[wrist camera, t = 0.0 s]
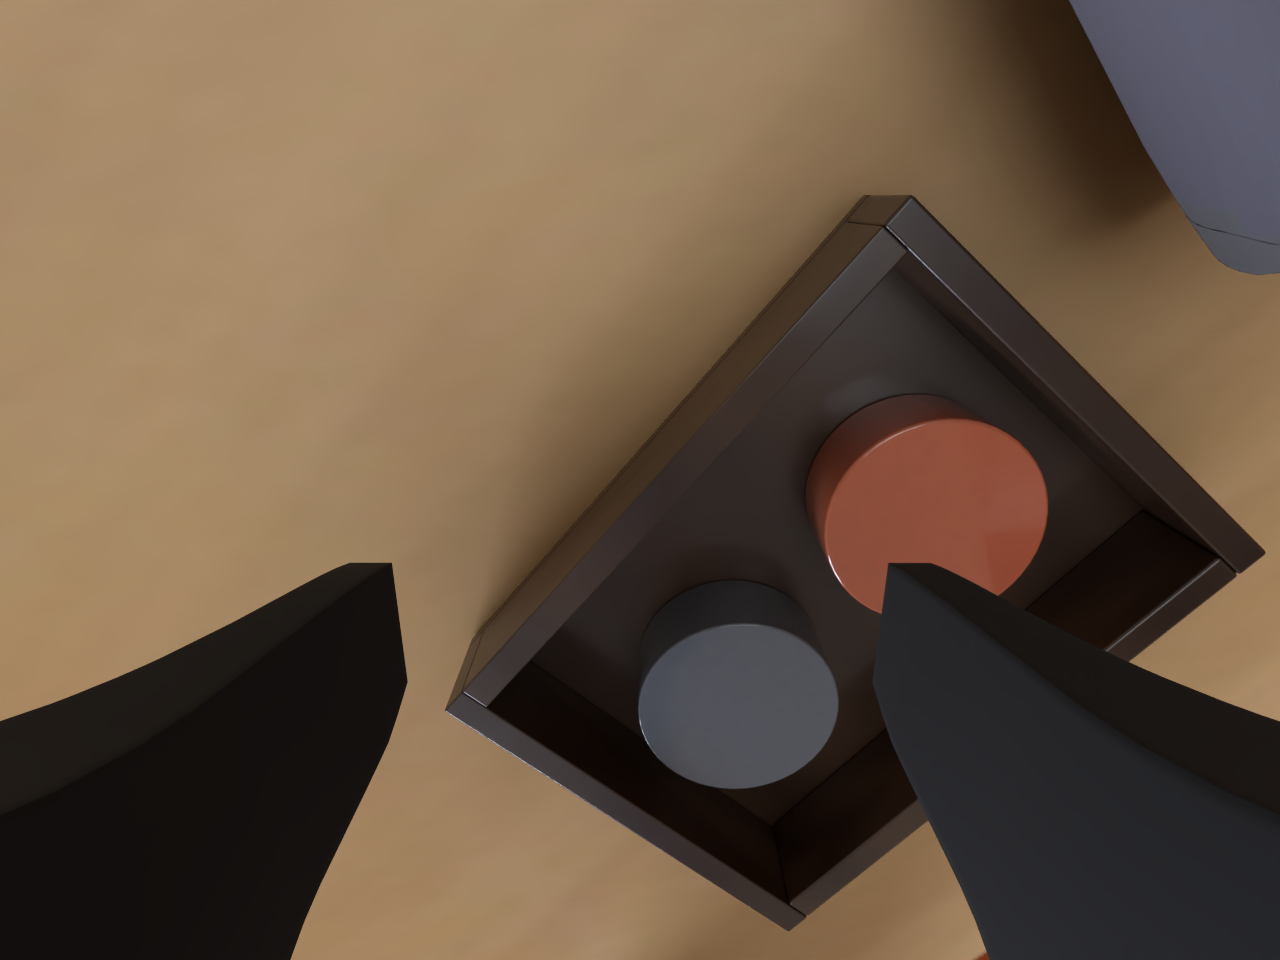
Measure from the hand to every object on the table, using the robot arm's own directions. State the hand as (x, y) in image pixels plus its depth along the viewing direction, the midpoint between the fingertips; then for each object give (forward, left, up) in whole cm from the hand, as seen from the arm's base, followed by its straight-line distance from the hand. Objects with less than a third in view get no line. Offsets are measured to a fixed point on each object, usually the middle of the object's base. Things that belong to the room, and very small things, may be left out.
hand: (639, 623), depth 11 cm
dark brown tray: (-4, -5, -10) cm, 12 cm away
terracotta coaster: (-2, -7, -10) cm, 12 cm away
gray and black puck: (-7, -3, -10) cm, 12 cm away
